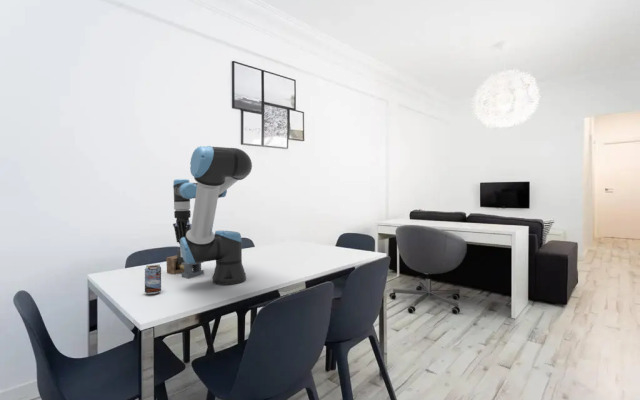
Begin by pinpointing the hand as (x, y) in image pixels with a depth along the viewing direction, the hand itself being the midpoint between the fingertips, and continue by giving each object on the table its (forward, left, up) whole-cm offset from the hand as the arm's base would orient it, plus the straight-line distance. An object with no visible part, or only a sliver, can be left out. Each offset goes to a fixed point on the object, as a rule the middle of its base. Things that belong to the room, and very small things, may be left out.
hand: (183, 256), depth 167 cm
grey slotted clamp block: (-7, 0, -9) cm, 11 cm away
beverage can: (-16, +26, -9) cm, 32 cm away
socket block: (+7, 0, -9) cm, 11 cm away
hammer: (+1, 0, -6) cm, 6 cm away
